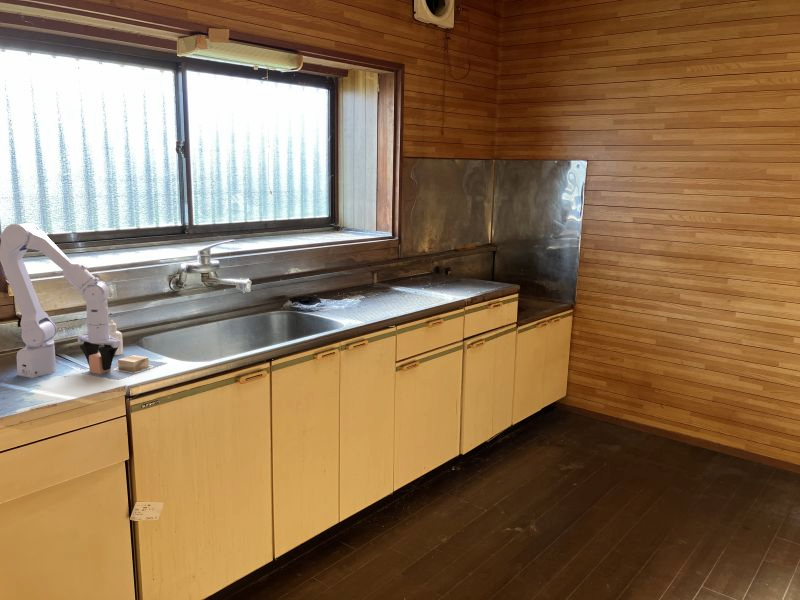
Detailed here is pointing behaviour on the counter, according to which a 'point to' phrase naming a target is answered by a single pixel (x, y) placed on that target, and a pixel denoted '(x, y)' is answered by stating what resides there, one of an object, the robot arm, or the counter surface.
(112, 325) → the eye dropper bottle
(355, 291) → the counter surface
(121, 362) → the base block
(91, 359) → the top block
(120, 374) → the board
